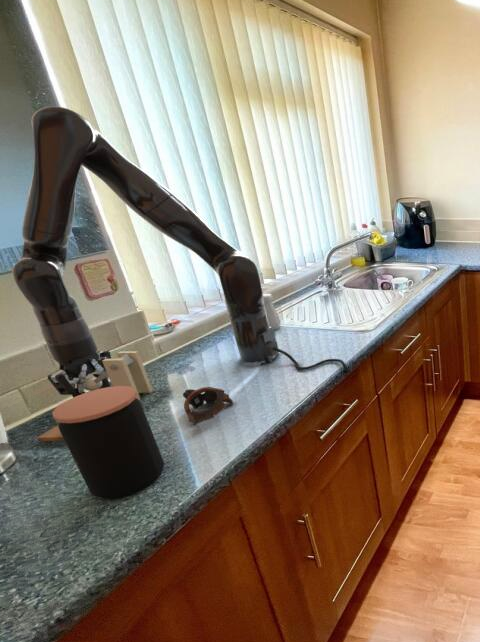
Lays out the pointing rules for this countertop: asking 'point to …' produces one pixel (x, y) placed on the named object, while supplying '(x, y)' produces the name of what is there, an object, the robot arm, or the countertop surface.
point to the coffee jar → (110, 441)
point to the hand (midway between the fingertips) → (95, 398)
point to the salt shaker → (271, 312)
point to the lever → (102, 377)
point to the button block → (52, 435)
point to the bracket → (128, 372)
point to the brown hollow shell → (209, 396)
